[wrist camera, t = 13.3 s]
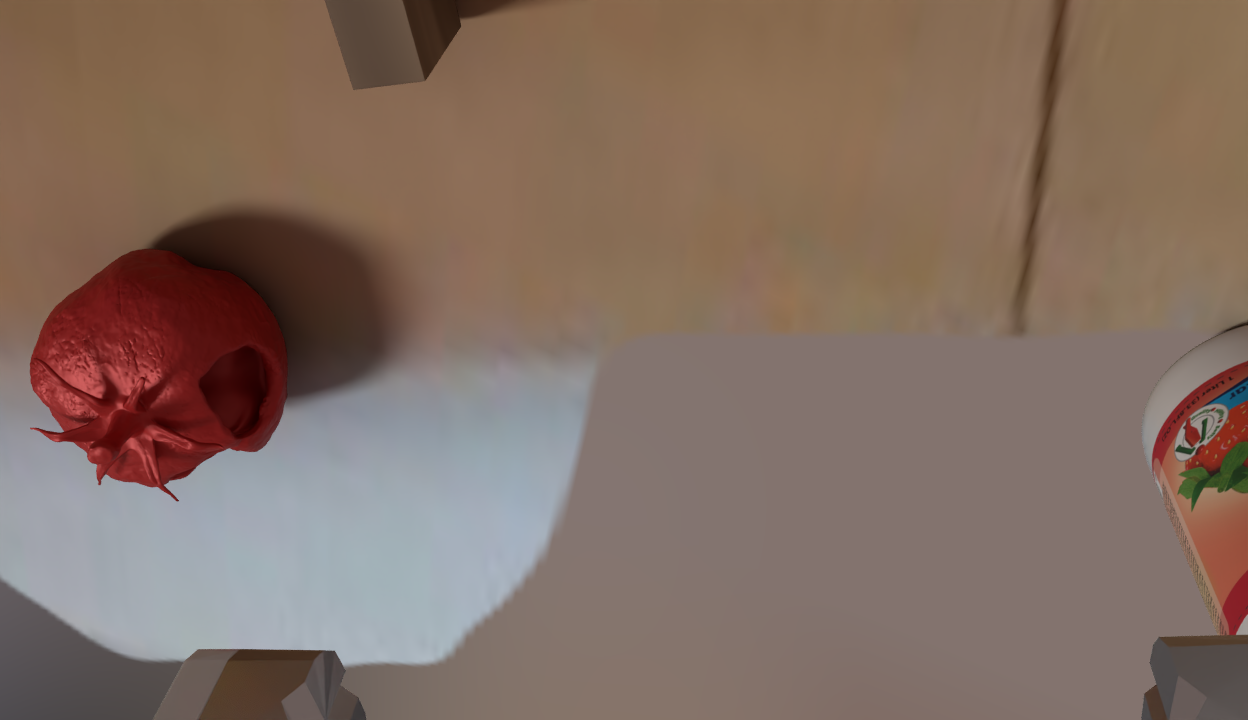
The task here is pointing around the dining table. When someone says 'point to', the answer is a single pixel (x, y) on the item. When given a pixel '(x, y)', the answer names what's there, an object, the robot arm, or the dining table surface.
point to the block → (392, 38)
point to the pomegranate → (161, 368)
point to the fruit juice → (1206, 468)
